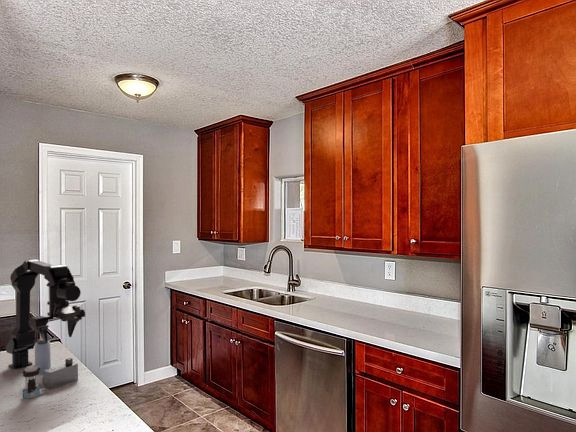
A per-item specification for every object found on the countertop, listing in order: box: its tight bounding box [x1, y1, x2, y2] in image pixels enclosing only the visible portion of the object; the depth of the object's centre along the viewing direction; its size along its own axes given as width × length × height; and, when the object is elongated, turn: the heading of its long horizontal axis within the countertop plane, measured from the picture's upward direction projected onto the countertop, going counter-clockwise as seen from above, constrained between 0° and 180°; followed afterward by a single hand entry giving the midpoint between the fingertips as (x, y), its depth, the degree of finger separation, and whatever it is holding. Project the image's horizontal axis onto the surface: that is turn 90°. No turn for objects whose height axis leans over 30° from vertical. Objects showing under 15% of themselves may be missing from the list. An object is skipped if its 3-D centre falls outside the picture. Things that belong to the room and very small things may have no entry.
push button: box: [21, 364, 45, 400], centre depth 144 cm, size 7×5×10 cm
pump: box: [34, 338, 52, 375], centre depth 162 cm, size 5×5×14 cm
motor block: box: [37, 357, 79, 390], centre depth 156 cm, size 9×10×8 cm
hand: (58, 340), depth 159 cm, fingers open, 9 cm apart
